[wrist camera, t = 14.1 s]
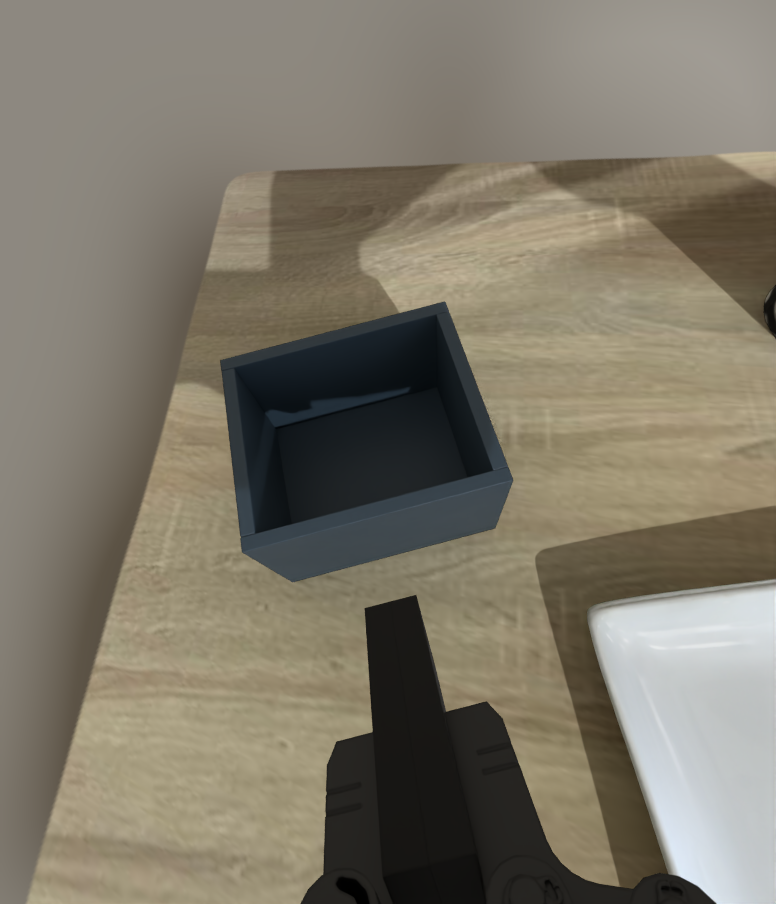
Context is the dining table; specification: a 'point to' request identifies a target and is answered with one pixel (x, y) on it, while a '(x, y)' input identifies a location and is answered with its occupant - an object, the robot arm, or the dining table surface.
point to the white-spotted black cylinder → (771, 310)
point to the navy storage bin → (360, 445)
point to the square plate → (700, 727)
